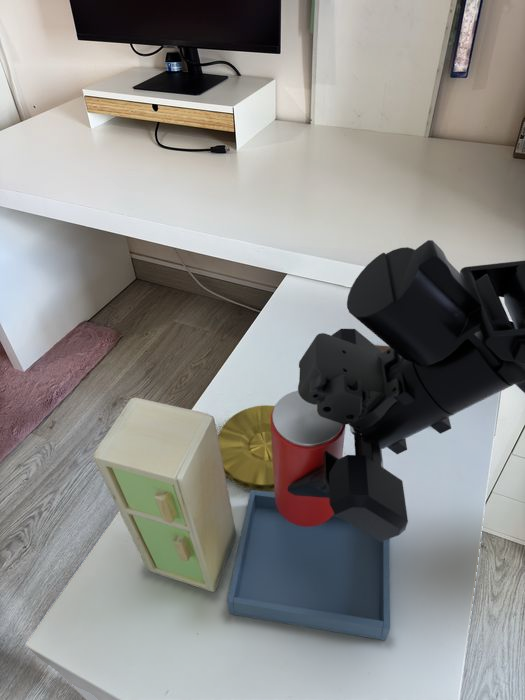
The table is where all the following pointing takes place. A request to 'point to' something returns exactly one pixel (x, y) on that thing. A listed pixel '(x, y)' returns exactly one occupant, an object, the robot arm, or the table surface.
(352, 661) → the table surface
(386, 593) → the tray
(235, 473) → the gold round disc
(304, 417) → the can
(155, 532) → the toy refrigerator
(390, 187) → the table surface
